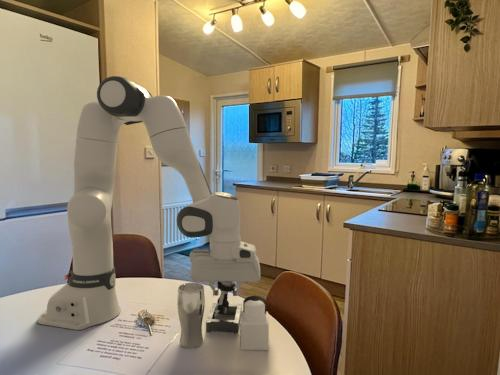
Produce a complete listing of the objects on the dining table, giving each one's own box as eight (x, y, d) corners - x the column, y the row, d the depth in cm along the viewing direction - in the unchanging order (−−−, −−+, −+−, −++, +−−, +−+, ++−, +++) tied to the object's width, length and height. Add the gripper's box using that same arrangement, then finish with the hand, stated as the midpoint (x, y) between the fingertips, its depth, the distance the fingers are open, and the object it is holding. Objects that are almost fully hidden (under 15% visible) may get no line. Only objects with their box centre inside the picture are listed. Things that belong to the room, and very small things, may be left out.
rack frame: (206, 332, 93) (206, 322, 93) (213, 312, 105) (213, 303, 105) (238, 333, 93) (238, 323, 93) (241, 313, 105) (241, 304, 104)
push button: (222, 320, 95) (229, 287, 94) (206, 313, 97) (212, 281, 96) (232, 311, 102) (238, 280, 100) (216, 305, 103) (222, 274, 102)
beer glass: (192, 353, 84) (192, 295, 82) (172, 344, 87) (171, 288, 86) (210, 340, 90) (210, 285, 88) (190, 332, 93) (190, 280, 92)
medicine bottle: (241, 335, 92) (242, 292, 91) (267, 335, 92) (268, 293, 91) (240, 350, 85) (240, 304, 84) (268, 351, 85) (269, 305, 84)
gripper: (187, 251, 94) (188, 299, 96) (260, 252, 93) (260, 300, 95) (191, 245, 101) (192, 290, 102) (260, 246, 100) (260, 291, 101)
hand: (225, 295), depth 98 cm, fingers closed on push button, 4 cm apart
